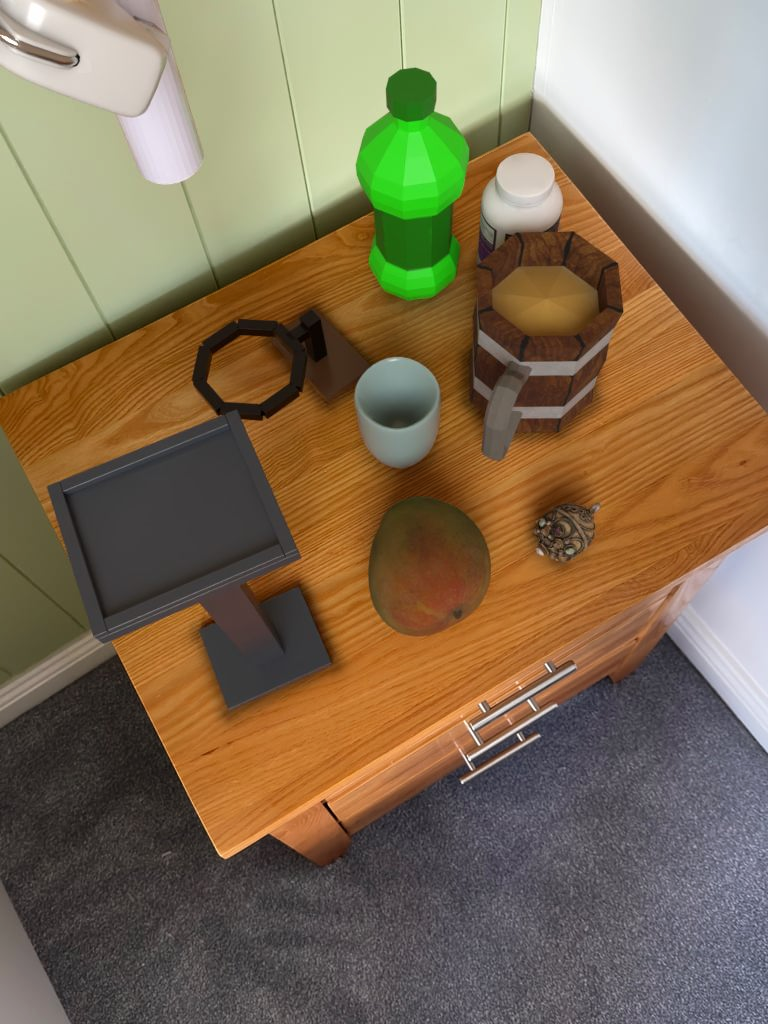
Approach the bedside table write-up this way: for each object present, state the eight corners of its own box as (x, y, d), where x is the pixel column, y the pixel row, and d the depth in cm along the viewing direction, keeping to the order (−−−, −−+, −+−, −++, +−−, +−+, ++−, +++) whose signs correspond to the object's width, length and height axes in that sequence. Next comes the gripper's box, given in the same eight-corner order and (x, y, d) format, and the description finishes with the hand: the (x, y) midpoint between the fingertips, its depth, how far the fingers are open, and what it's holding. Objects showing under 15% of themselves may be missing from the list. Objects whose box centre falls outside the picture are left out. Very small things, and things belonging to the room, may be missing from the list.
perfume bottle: (215, 196, 56) (113, -136, 37) (129, 203, 56) (-15, -124, 37) (215, 132, 58) (120, -210, 40) (133, 140, 58) (-1, -199, 40)
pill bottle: (561, 263, 92) (584, 161, 79) (526, 314, 90) (544, 219, 77) (497, 234, 94) (509, 130, 81) (462, 283, 92) (468, 185, 79)
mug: (491, 310, 90) (503, 210, 76) (612, 349, 88) (646, 252, 74) (421, 460, 84) (420, 380, 70) (550, 507, 81) (575, 434, 67)
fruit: (402, 666, 75) (398, 638, 66) (338, 553, 80) (327, 513, 71) (511, 605, 77) (523, 570, 68) (443, 498, 82) (445, 452, 73)
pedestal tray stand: (223, 726, 74) (93, 637, 45) (187, 627, 78) (46, 485, 49) (347, 670, 76) (297, 549, 47) (306, 575, 79) (236, 408, 50)
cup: (346, 446, 85) (336, 396, 75) (398, 397, 87) (394, 341, 77) (402, 493, 82) (399, 446, 73) (454, 441, 84) (458, 389, 75)
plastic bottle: (433, 229, 95) (436, 26, 72) (477, 297, 91) (494, 105, 68) (354, 262, 94) (330, 66, 71) (394, 332, 90) (384, 148, 67)
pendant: (517, 543, 80) (522, 523, 75) (575, 496, 81) (584, 473, 77) (553, 581, 78) (561, 564, 73) (612, 532, 80) (624, 512, 75)
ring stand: (249, 465, 84) (234, 430, 77) (190, 395, 88) (170, 356, 81) (375, 374, 88) (370, 332, 81) (313, 310, 91) (303, 266, 84)
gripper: (12, -45, 31) (264, 61, 42) (-211, -258, 38) (58, -118, 49) (-32, 112, 34) (214, 173, 46) (-231, -110, 41) (26, -10, 52)
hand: (131, 21), depth 47 cm, fingers closed on perfume bottle, 4 cm apart
